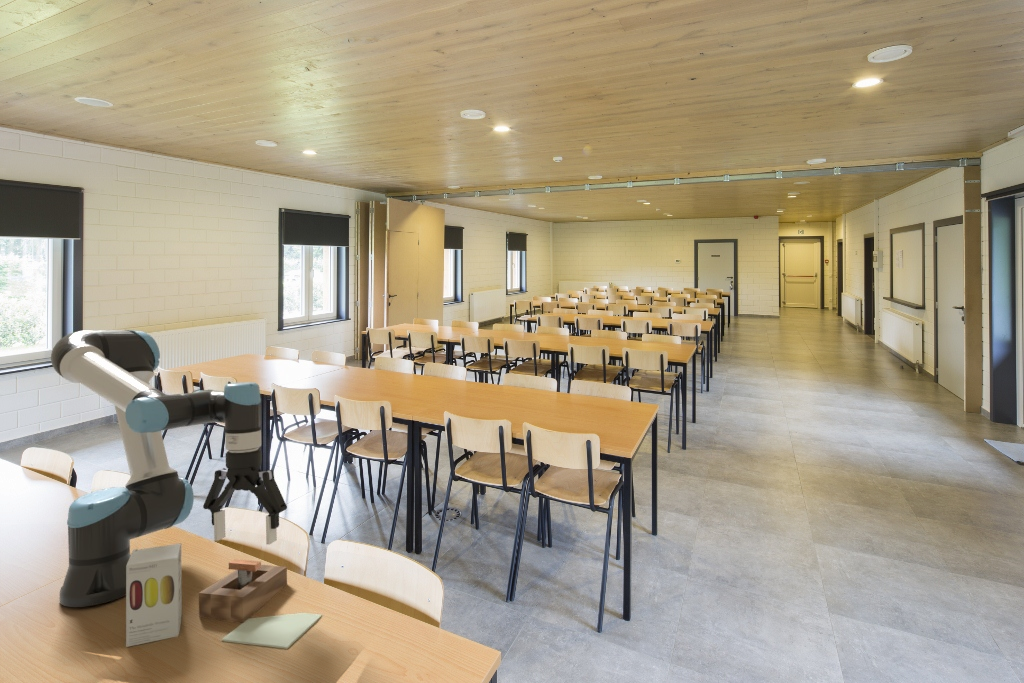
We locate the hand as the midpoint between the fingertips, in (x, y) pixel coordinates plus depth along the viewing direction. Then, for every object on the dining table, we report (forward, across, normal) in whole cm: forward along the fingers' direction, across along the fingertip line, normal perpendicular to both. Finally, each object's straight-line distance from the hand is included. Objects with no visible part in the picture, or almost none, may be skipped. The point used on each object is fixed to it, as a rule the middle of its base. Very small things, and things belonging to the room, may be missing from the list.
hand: (245, 540), depth 129 cm
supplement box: (+15, -12, -14) cm, 24 cm away
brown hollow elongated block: (+15, 0, 0) cm, 15 cm away
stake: (+15, 0, 0) cm, 15 cm away
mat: (+15, +12, -8) cm, 21 cm away
